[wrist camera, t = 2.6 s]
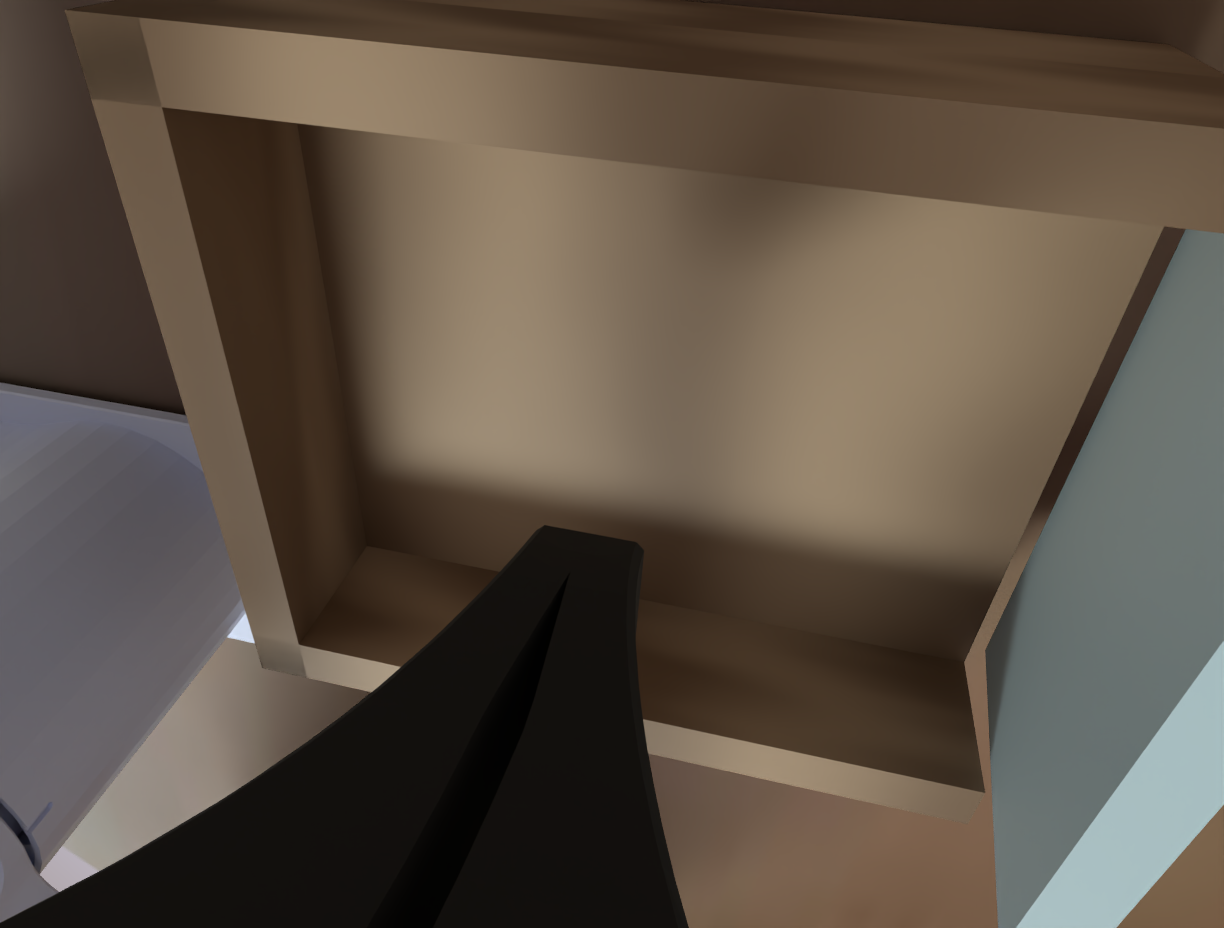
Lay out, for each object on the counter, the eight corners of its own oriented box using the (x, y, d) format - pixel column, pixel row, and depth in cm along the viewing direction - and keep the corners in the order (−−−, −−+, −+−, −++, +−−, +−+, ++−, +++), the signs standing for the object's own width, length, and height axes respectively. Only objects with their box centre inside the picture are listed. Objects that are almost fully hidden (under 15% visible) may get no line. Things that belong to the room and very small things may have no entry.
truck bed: (378, 504, 21) (262, 667, 17) (299, -34, 14) (64, 9, 10) (937, 609, 19) (967, 824, 15) (1168, 43, 12) (1350, 141, 8)
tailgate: (984, 635, 17) (999, 951, 12) (1196, 183, 11) (1385, 418, 7) (1036, 649, 17) (1073, 975, 12) (1277, 194, 11) (1536, 446, 6)
